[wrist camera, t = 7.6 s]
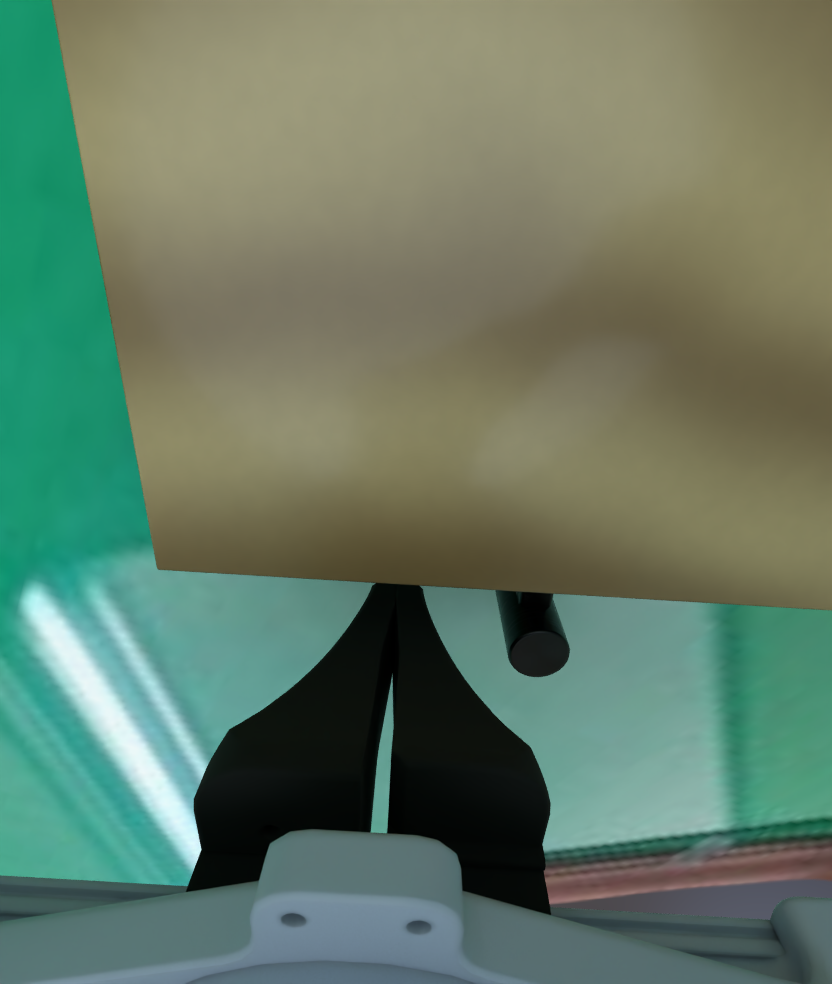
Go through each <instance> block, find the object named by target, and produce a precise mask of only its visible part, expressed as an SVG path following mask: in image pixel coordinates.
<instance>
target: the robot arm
mask: <svg viewBox="0 0 832 984" xmlns="http://www.w3.org/2000/svg"><path fill="white" fill-rule="evenodd" d="M392 673H393V718H394V730H393V741H392V753H391V772H390V792H389V812H388V829H387V833H370V832H371V821H372V810H373V799H374V788H375V777H376V766H377V757H378V750H379V743H380V738H381V733H382V727H383V722H384V716H385V711H386V706H387V700H388V695H389V690H390V684H391V679H392ZM194 814H195V819H196V824H197V829H198V834H199V839H200V844H201V849H202V850H201V853H200V855H199V858H198V861H197V863H196V866H195V869H194V871H193V874H192V876H191V879H190V882H189V884H188V886H173V885H156V884H139V883H121V882H104V881H87V880H69V879H52V878H35V877H17V876H0V984H832V899H831V898H813V897H790V898H787V899H785V900H782V901H781V902H780V903H779V904H777V905H776V907H775V909H774V911H773V913H772V916H771V919H770V920H762V919H745V918H727V917H709V916H693V915H692V916H691V915H675V914H658V913H640V912H623V911H606V910H589V909H571V908H553V907H550V904H549V899H548V893H547V888H546V882H545V877H544V871H543V870H545V867H546V866H545V856H544V851H543V846H542V843H543V839H544V835H545V832H546V828H547V824H548V820H549V816H550V799H549V794H548V790H547V787H546V784H545V781H544V778H543V775H542V773H541V770H540V768H539V765H538V763H537V760H536V758H535V756H534V754H533V751H532V749H531V747H530V746H529V745H527V744H526V743H525V742H524V741H523V740H522V739H520V738H519V737H518V736H517V735H516V734H514V733H513V732H512V731H511V730H510V729H509V728H507V727H506V726H505V725H504V724H503V723H502V722H501V721H500V720H499V719H498V718H497V717H496V716H495V715H494V714H493V713H492V712H491V710H490V709H489V708H488V707H487V706H486V705H485V704H484V702H483V701H482V700H481V699H480V698H479V697H478V696H477V694H476V693H475V692H474V691H473V689H472V688H471V687H470V685H469V684H468V683H467V681H466V680H465V679H464V677H463V676H462V674H461V673H460V671H459V670H458V668H457V667H456V665H455V664H454V662H453V660H452V659H451V657H450V655H449V654H448V652H447V650H446V648H445V646H444V645H443V643H442V641H441V639H440V637H439V635H438V632H437V630H436V628H435V626H434V624H433V621H432V619H431V616H430V614H429V611H428V608H427V605H426V602H425V598H424V594H423V589H422V588H421V587H420V586H419V585H404V584H388V583H376V584H374V585H373V586H372V588H371V591H370V593H369V595H368V597H367V599H366V600H365V602H364V604H363V606H362V607H361V609H360V611H359V612H358V614H357V615H356V617H355V618H354V620H353V621H352V623H351V624H350V625H349V627H348V628H347V630H346V631H345V632H344V634H343V635H342V636H341V637H340V639H339V640H338V641H337V642H336V644H335V645H334V646H333V647H332V649H331V650H330V651H329V652H328V653H327V654H326V655H325V656H324V657H323V659H322V660H321V661H320V662H319V663H318V664H317V665H316V666H315V667H314V668H313V669H312V670H311V671H310V672H309V673H307V674H306V675H305V676H304V677H303V678H302V679H301V680H300V681H299V682H298V683H297V684H295V685H294V686H293V687H292V688H291V689H289V690H288V691H287V692H286V693H284V694H283V695H282V696H280V697H279V698H278V699H276V700H275V701H274V702H272V703H271V704H270V705H268V706H267V707H266V708H264V709H263V710H261V711H260V712H258V713H256V714H255V715H253V716H251V717H250V718H248V719H246V720H245V721H243V722H241V723H240V724H238V725H236V726H235V727H233V728H231V729H229V731H228V732H227V734H226V735H225V737H224V738H223V740H222V742H221V743H220V745H219V746H218V748H217V750H216V752H215V753H214V755H213V757H212V758H211V760H210V762H209V764H208V766H207V768H206V771H205V773H204V776H203V778H202V780H201V783H200V785H199V788H198V790H197V793H196V795H195V797H194Z"/></svg>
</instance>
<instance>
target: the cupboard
mask: <svg viewBox="0 0 832 984" xmlns="http://www.w3.org/2000/svg"><path fill="white" fill-rule="evenodd" d="M52 5H53V10H54V15H55V21H56V26H57V32H58V37H59V42H60V48H61V53H62V59H63V64H64V69H65V75H66V80H67V85H68V91H69V96H70V102H71V107H72V112H73V118H74V123H75V129H76V134H77V139H78V145H79V150H80V156H81V161H82V166H83V172H84V177H85V182H86V188H87V193H88V199H89V204H90V209H91V215H92V220H93V226H94V231H95V236H96V242H97V247H98V252H99V258H100V263H101V269H102V274H103V279H104V285H105V290H106V296H107V301H108V306H109V312H110V317H111V323H112V328H113V333H114V339H115V344H116V349H117V355H118V360H119V366H120V371H121V376H122V382H123V387H124V393H125V398H126V403H127V409H128V414H129V419H130V425H131V430H132V436H133V441H134V446H135V452H136V457H137V463H138V468H139V473H140V479H141V484H142V490H143V495H144V500H145V506H146V511H147V516H148V522H149V527H150V533H151V538H152V543H153V549H154V554H155V560H156V565H157V569H159V570H172V571H189V572H205V573H222V574H238V575H255V576H272V577H288V578H305V579H321V580H338V581H355V582H371V583H388V584H404V585H421V586H437V587H454V588H471V589H487V590H504V591H520V592H537V593H553V594H570V595H587V596H603V597H620V598H636V599H653V600H669V601H686V602H703V603H719V604H736V605H752V606H769V607H785V608H802V609H819V610H832V0H52Z"/></svg>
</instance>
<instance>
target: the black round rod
mask: <svg viewBox="0 0 832 984" xmlns="http://www.w3.org/2000/svg"><path fill="white" fill-rule="evenodd" d="M495 591H496V596H497V601H498V606H499V612H500V617H501V622H502V627H503V632H504V638H505V643H506V648H507V653H508V658H509V661H510V663H511V665H512V666H513V667H514V668H515V669H516V670H517V671H518V672H520V673H521V674H524V675H527V676H531V677H543V676H548V675H551V674H553V673H555V672H557V671H558V670H560V669H561V668H562V667H563V666H564V665H565V664H566V662H567V660H568V657H569V653H570V648H569V644H568V641H567V638H566V635H565V632H564V630H563V627H562V624H561V621H560V618H559V615H558V612H557V609H556V607H555V604H554V601H553V593H537V592H520V591H504V590H495Z"/></svg>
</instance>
